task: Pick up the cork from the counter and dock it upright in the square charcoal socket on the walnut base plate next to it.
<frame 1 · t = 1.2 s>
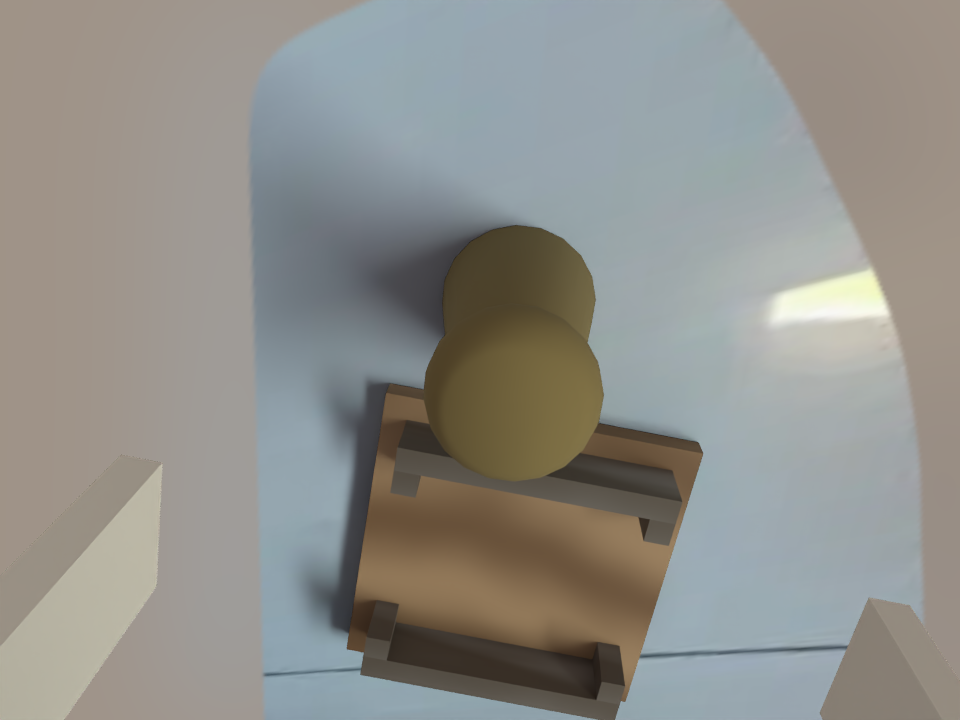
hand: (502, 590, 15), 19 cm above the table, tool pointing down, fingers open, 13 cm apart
cork: (518, 299, 33), on the table
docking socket: (514, 544, 37), on the table
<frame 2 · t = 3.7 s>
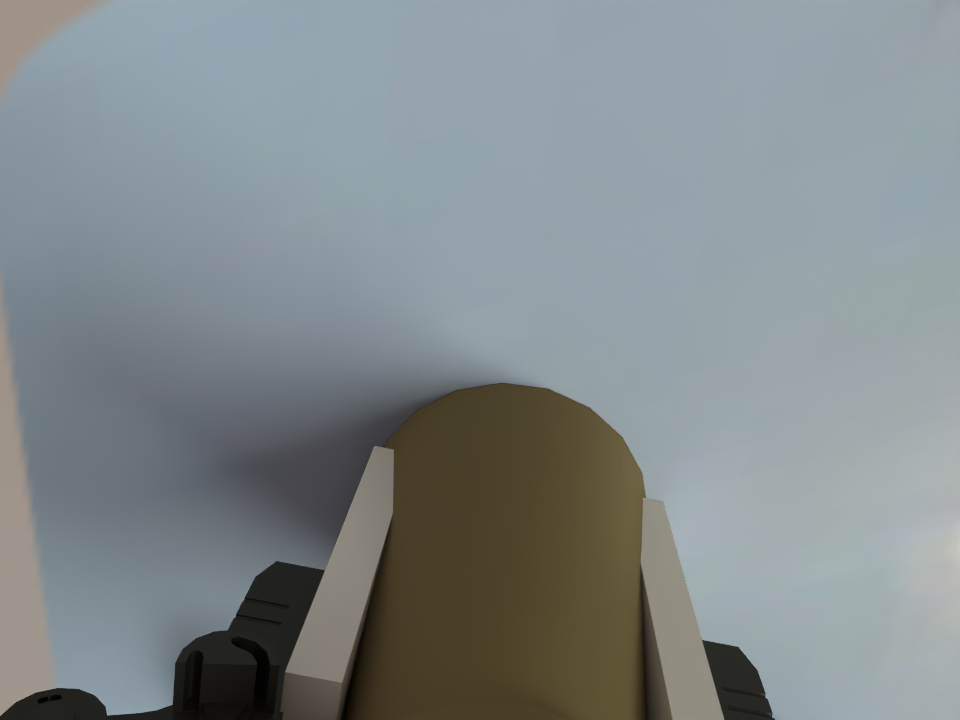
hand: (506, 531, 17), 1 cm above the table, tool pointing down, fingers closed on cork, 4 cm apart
cork: (506, 507, 18), on the table, touching gripper
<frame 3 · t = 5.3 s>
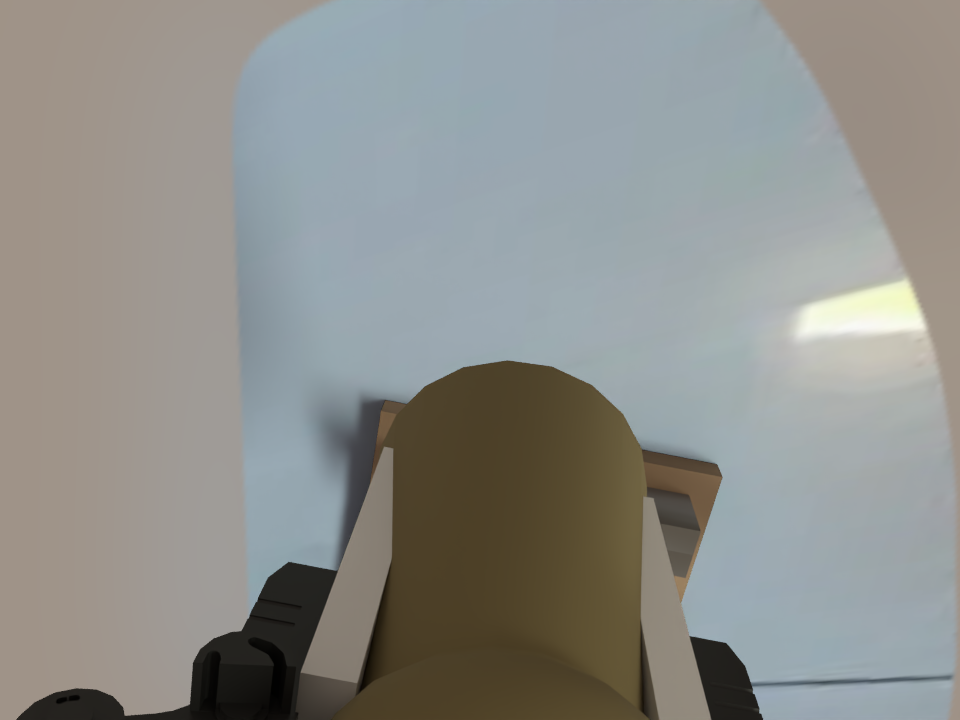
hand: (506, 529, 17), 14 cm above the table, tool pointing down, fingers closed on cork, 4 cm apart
cork: (510, 482, 19), point 13 cm above the table, touching gripper
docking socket: (518, 571, 35), on the table
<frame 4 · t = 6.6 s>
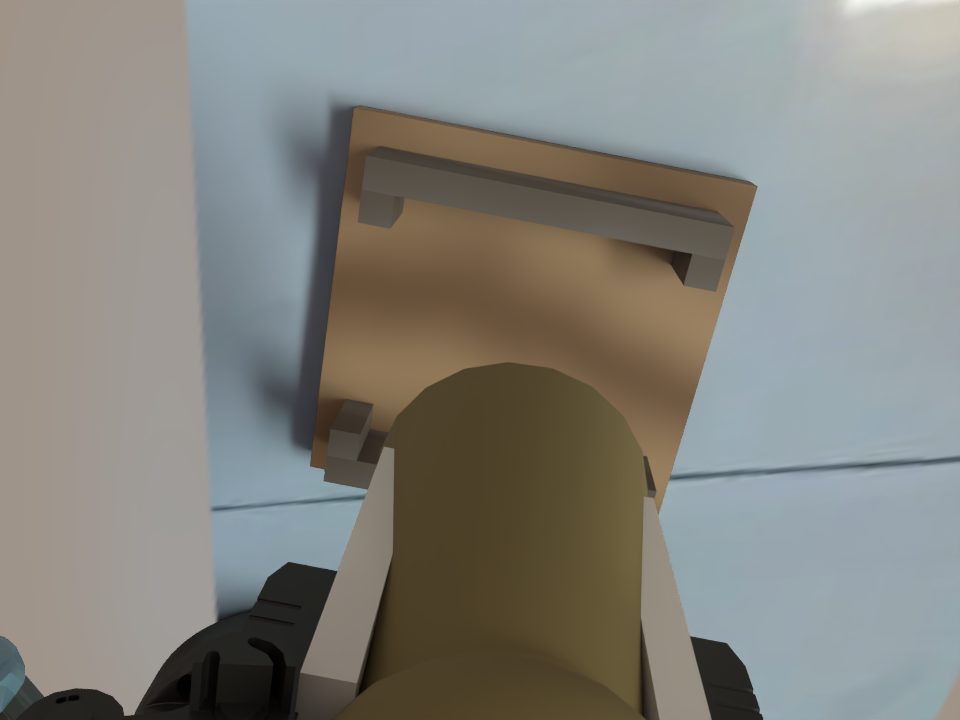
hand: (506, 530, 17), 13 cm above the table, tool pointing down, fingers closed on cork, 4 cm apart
cork: (510, 484, 19), point 12 cm above the table, touching gripper
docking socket: (516, 328, 30), on the table
when the fingers open (4 cm above the table, at t = 8.7 s): cork drops 2 cm, resting on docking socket.
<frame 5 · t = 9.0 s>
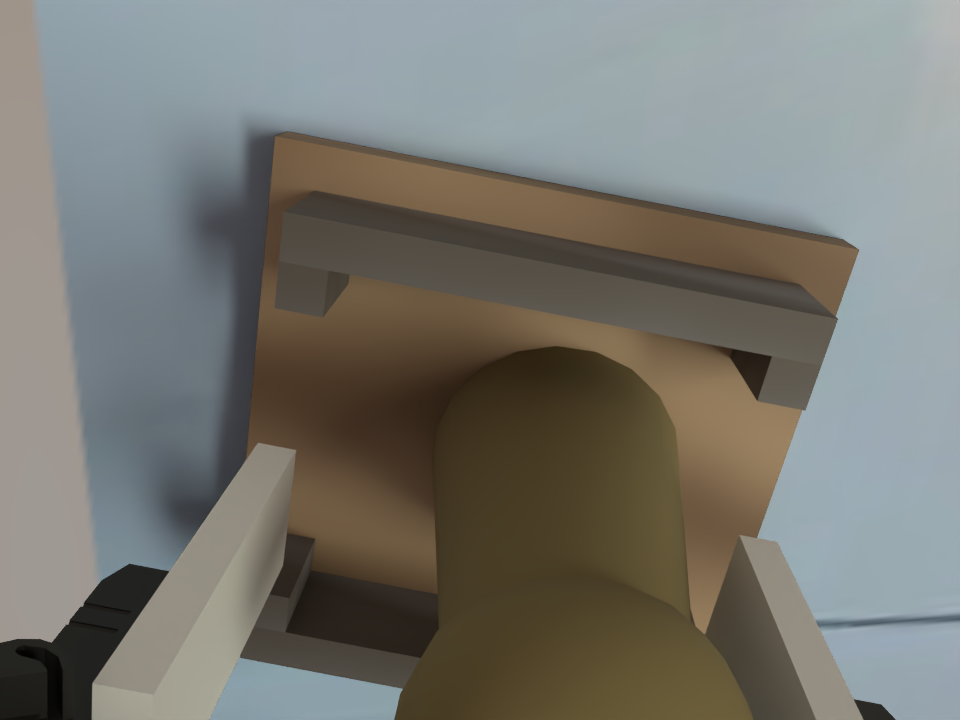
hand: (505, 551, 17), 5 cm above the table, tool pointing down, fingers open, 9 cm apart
cork: (554, 458, 21), point 1 cm above the table, touching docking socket
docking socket: (511, 435, 22), on the table
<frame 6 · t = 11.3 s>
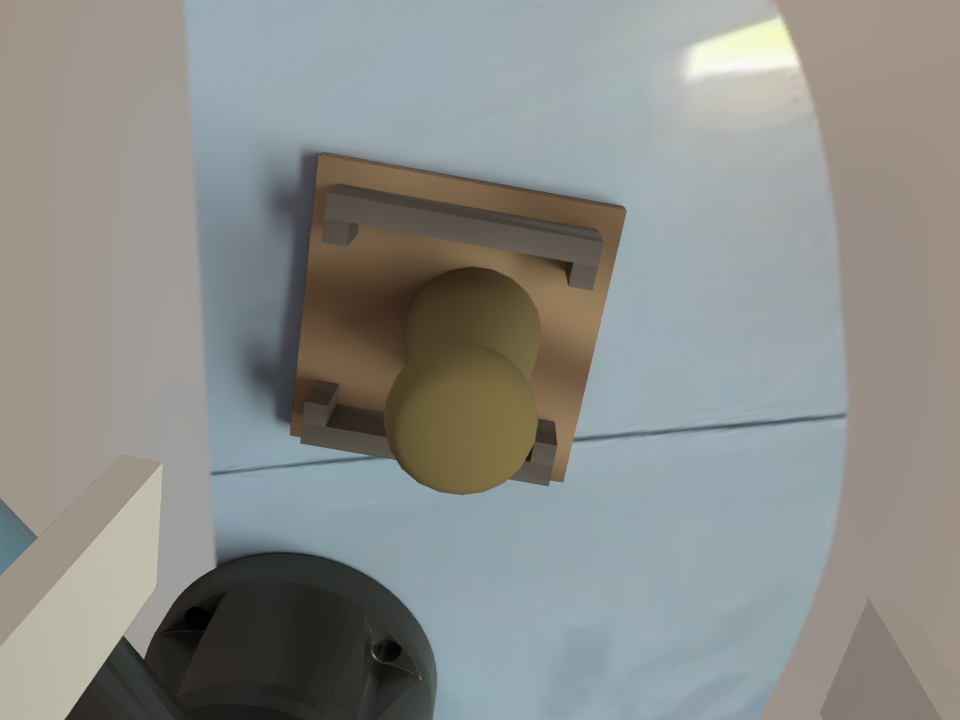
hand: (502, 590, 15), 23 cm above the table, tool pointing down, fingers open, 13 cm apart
cork: (473, 331, 37), point 1 cm above the table, touching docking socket
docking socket: (450, 322, 38), on the table
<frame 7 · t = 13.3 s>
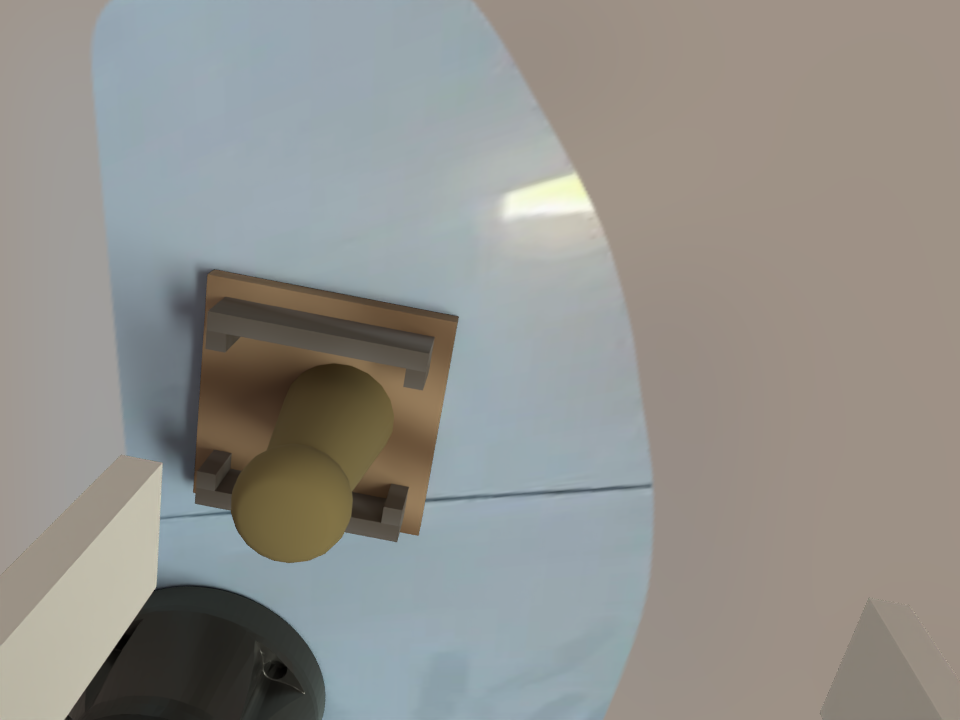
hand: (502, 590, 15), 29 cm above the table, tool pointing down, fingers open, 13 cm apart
cork: (339, 413, 45), point 1 cm above the table, touching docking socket
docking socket: (322, 404, 46), on the table
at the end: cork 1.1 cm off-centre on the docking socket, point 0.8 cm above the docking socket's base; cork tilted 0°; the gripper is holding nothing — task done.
